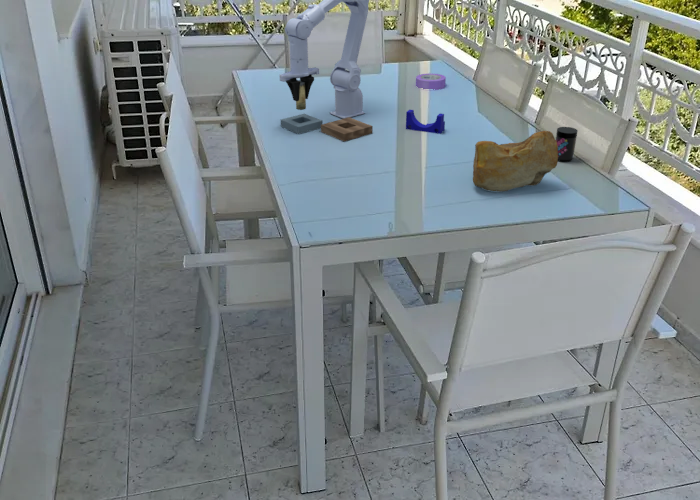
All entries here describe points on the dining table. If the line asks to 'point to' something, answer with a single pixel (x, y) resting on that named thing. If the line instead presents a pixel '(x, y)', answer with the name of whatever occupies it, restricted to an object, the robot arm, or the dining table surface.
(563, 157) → the supplement container
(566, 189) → the dining table surface
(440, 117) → the blue cradle block
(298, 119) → the block
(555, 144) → the rough brown rock
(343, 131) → the socket block
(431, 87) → the masking tape
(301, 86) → the spice jar
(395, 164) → the dining table surface
